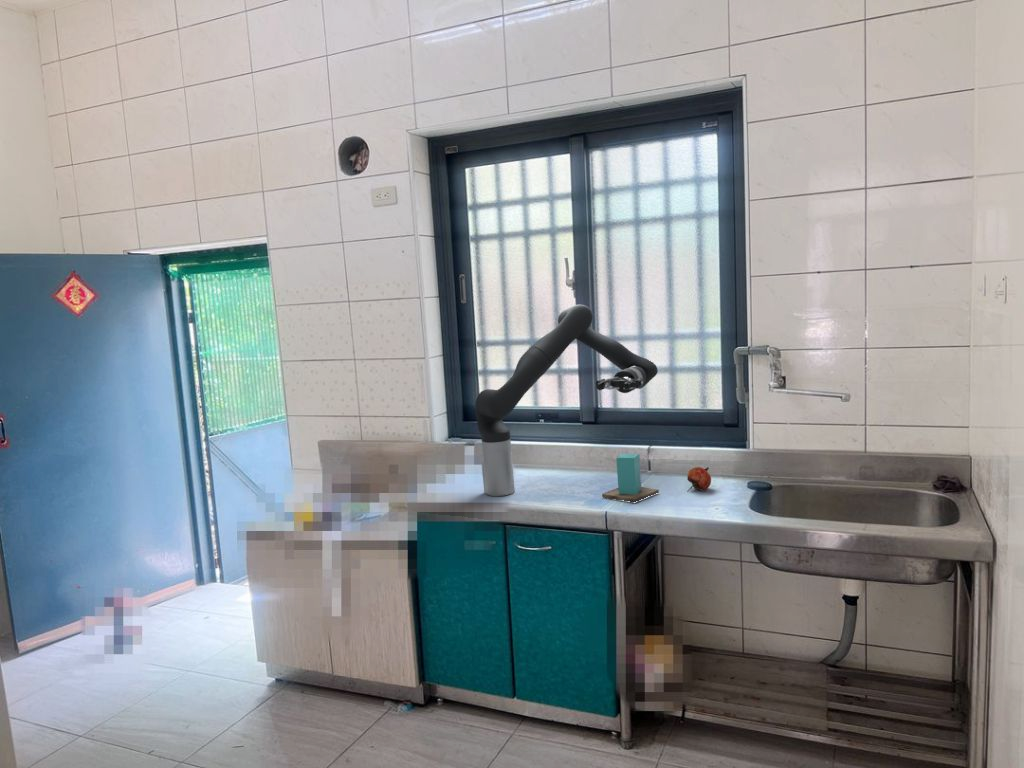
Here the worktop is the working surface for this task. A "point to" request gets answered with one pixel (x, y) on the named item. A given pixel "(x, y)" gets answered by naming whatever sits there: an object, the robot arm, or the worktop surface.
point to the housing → (628, 474)
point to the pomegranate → (699, 478)
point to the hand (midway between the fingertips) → (612, 386)
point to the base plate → (630, 497)
